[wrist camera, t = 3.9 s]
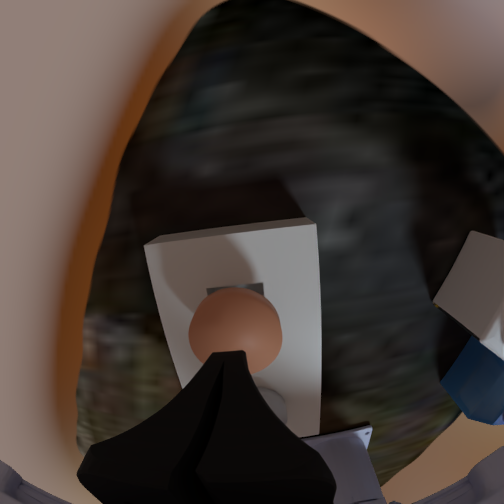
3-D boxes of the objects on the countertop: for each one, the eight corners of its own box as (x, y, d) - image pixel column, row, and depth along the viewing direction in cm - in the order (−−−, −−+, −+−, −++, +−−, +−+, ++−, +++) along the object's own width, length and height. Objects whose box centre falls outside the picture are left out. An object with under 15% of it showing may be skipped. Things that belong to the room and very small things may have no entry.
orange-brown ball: (279, 334, 17) (285, 371, 13) (208, 341, 17) (199, 378, 13) (272, 266, 16) (278, 291, 12) (195, 275, 16) (179, 301, 12)
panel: (313, 410, 22) (319, 434, 19) (207, 419, 22) (203, 443, 19) (305, 217, 18) (316, 224, 15) (159, 235, 18) (143, 245, 15)
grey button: (284, 402, 21) (288, 435, 17) (230, 407, 21) (227, 440, 17) (280, 361, 20) (285, 395, 16) (221, 367, 20) (215, 400, 16)
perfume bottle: (439, 382, 22) (495, 457, 10) (473, 332, 20) (545, 397, 9) (465, 388, 22) (515, 450, 10) (495, 344, 21) (555, 399, 9)
